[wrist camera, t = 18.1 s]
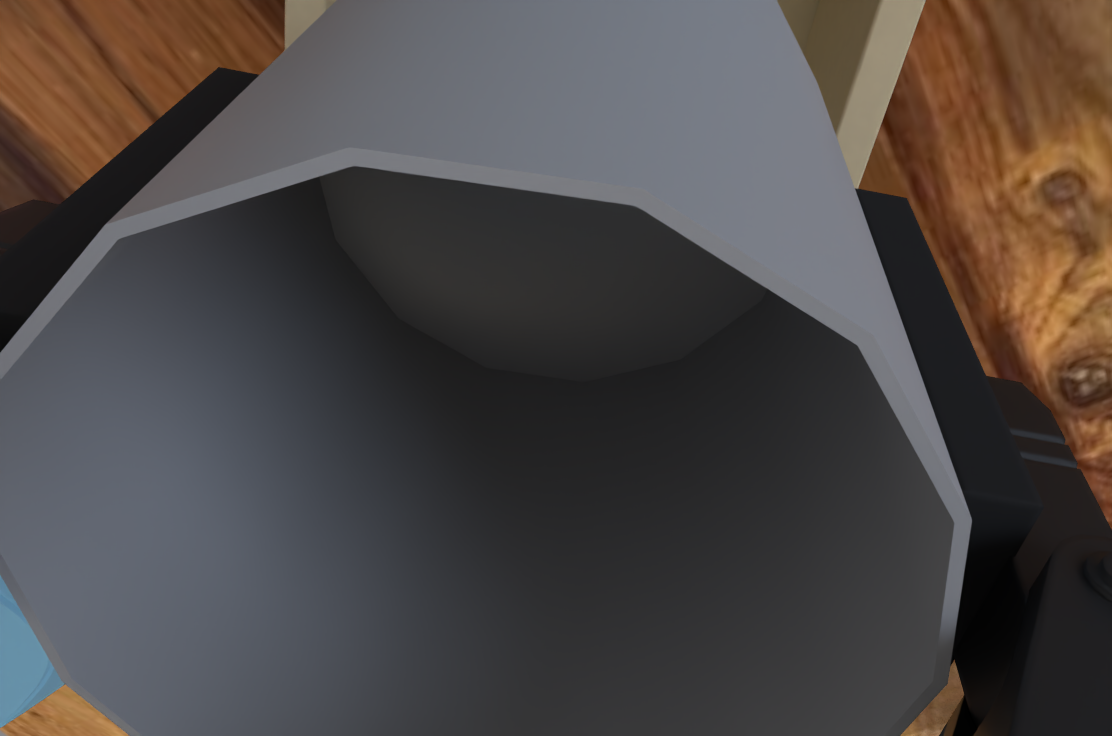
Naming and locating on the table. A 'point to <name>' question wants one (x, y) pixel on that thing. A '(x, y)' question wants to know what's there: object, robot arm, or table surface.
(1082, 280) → the table surface
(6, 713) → the teapot
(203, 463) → the cup
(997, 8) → the table surface
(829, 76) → the open pull-out drawer
